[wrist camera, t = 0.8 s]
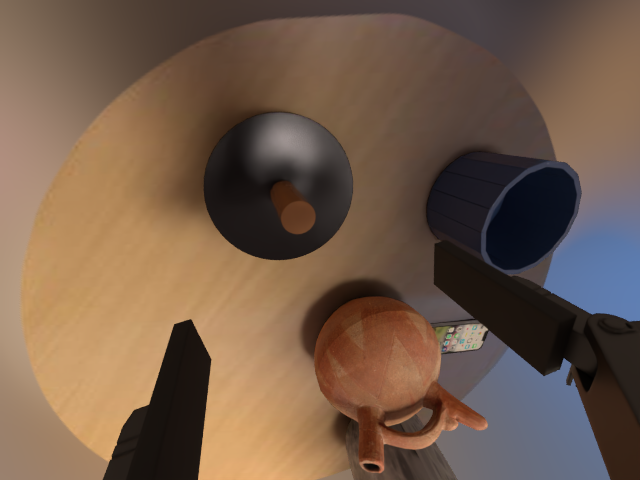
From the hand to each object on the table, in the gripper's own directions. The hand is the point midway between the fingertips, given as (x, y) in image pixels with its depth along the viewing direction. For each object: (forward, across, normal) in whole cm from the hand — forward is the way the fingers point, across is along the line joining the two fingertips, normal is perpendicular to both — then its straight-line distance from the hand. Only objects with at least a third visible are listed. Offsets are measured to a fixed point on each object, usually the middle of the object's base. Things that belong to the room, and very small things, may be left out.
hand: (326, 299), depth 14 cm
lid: (+17, +1, +1) cm, 17 cm away
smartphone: (+22, +27, -36) cm, 51 cm away
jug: (+22, +8, -25) cm, 35 cm away
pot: (+22, +29, -8) cm, 37 cm away
